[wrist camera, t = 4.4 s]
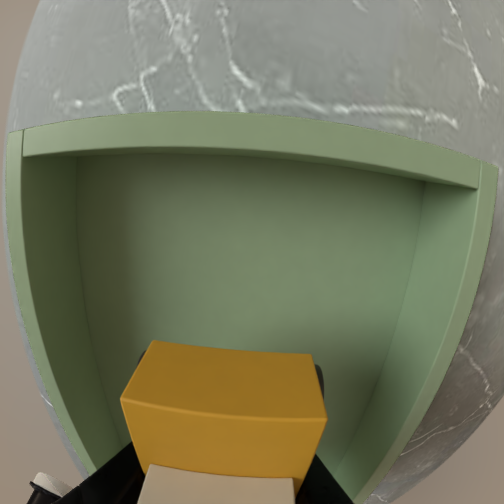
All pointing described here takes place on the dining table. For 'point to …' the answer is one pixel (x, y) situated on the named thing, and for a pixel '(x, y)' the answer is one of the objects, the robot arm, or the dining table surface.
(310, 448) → the small car
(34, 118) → the dining table surface
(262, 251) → the green box
